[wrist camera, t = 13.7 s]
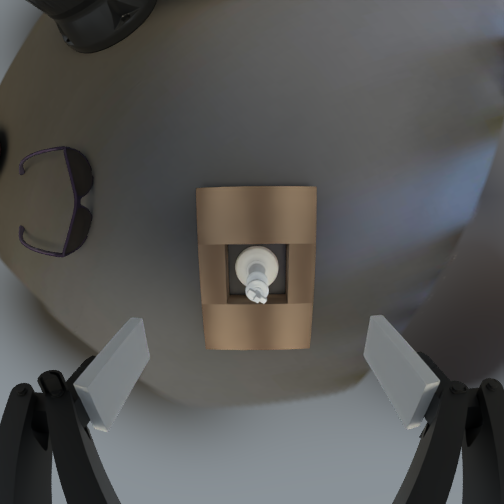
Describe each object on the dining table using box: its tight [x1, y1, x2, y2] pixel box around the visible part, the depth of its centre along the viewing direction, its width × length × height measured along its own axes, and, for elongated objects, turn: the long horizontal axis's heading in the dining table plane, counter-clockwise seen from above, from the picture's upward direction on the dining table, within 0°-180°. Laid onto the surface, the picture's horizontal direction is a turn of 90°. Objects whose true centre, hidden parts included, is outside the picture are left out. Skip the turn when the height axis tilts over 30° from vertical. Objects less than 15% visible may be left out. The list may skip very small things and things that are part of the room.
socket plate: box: [196, 186, 317, 350], centre depth 30 cm, size 12×18×3 cm, turn 1°
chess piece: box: [235, 246, 279, 304], centre depth 27 cm, size 5×5×10 cm
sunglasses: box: [19, 146, 93, 257], centre depth 28 cm, size 14×16×5 cm
